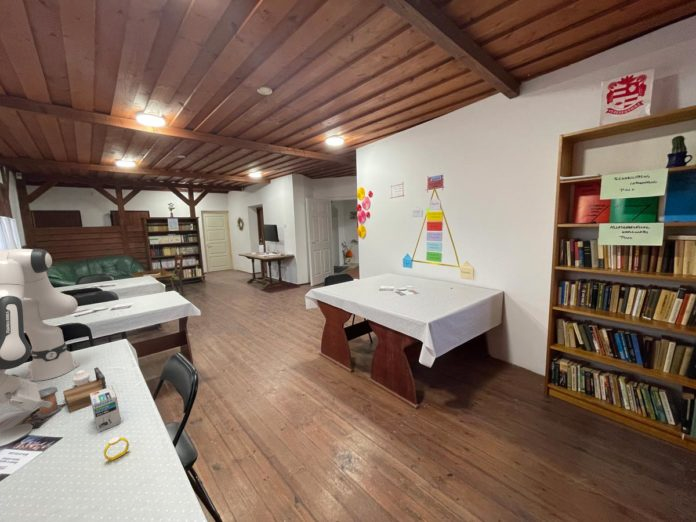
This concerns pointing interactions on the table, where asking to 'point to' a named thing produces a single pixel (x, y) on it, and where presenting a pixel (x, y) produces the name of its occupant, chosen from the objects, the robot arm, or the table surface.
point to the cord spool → (50, 396)
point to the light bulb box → (105, 408)
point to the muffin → (81, 377)
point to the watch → (112, 442)
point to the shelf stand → (84, 392)
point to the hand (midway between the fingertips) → (49, 400)
